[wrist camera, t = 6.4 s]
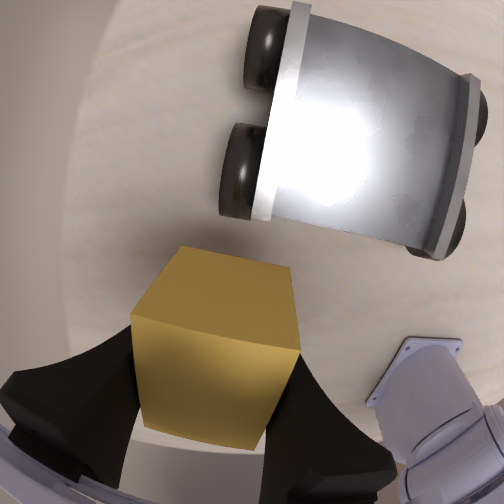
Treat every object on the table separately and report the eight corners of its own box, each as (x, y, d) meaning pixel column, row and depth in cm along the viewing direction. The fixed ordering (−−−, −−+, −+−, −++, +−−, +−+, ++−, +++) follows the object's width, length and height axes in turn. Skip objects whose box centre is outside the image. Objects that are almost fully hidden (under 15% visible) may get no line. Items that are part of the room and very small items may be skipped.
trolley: (412, 243, 18) (455, 281, 12) (228, 204, 17) (209, 233, 12) (446, 88, 13) (499, 79, 8) (262, 26, 13) (259, -20, 7)
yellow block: (258, 368, 14) (253, 450, 9) (174, 350, 14) (144, 426, 9) (289, 267, 11) (301, 350, 7) (182, 245, 11) (130, 313, 7)
